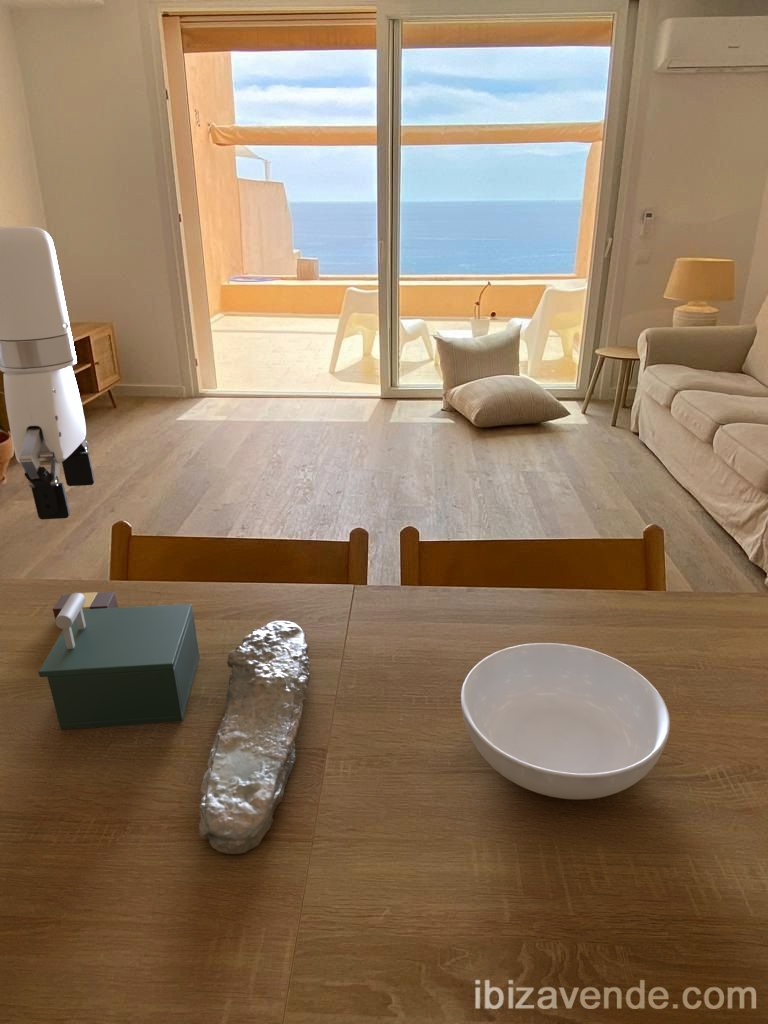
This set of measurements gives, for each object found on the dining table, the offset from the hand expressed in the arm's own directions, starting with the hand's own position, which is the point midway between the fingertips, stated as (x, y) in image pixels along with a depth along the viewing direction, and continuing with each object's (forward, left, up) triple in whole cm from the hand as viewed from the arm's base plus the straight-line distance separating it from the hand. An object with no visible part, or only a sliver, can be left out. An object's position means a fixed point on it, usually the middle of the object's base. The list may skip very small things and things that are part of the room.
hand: (68, 500), depth 81 cm
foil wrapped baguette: (+21, -14, -23) cm, 35 cm away
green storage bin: (+5, -6, -23) cm, 24 cm away
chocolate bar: (-6, +12, -23) cm, 27 cm away
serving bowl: (+53, -21, -23) cm, 62 cm away
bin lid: (+5, -6, -16) cm, 18 cm away
